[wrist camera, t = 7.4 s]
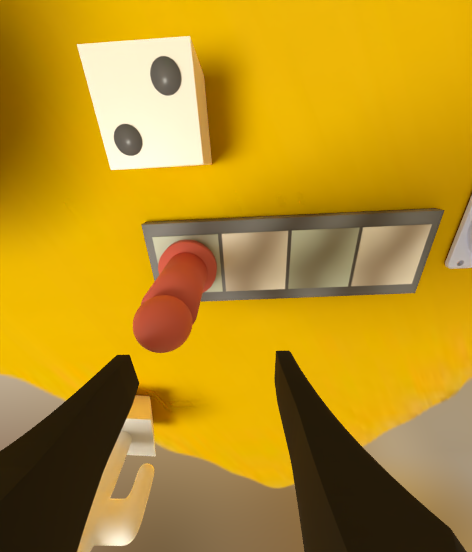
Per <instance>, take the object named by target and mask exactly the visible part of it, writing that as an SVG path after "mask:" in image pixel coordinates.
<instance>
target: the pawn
mask: <svg viewBox="0 0 472 552" xmlns="http://www.w3.org/2000/svg"><path fill="white" fill-rule="evenodd" d="M158 271H159V276H158V278H157V279H156V281H155V282H154V283H153V285H152V286H151V288H150V289H149V291H148V292H147V293H146V295H145V296H144V298H143V300H142V303H141V306H140V307H139V309H138V310H137V312H136V314H135V317H134V320H133V331H134V335H135V337H136V339H137V341H138V342H139V343H140V344H141V346H143V347H144V348H145V349H147V350H149V351H152V352H157V353H165V352H169V351H172V350H175V349H176V348H178V347H180V346H181V345H182V344H183V343H184V342H185V341H186V340H187V338H188V336H189V334H190V332H191V329H192V325H193V323H194V322H195V320H196V317H197V313H198V309H199V305H200V301H201V297H202V293H204V292H205V291H207V290H208V289H209V288H210V287H211V286H212V284H213V283H214V281H215V277H216V272H217V262H216V259H215V256H214V255H213V253H212V252H211V250H210V249H209V248H208V247H207V246H205V245H204V244H202V243H200V242H198V241H194V240H180V241H177V242H174V243H173V244H171V245H170V246H169V247H168V248H167V249H166V250H165V251H164V253H163V254H162V255H161V257H160V260H159V263H158Z"/></svg>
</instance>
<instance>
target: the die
mask: <svg viewBox="0 0 472 552" xmlns="http://www.w3.org/2000/svg"><path fill="white" fill-rule="evenodd" d="M77 47H78V50H79V54H80V58H81V61H82V65H83V69H84V72H85V76H86V80H87V83H88V87H89V91H90V95H91V98H92V102H93V106H94V109H95V113H96V117H97V120H98V124H99V128H100V131H101V135H102V139H103V142H104V146H105V150H106V153H107V157H108V161H109V165H110V168H111V170H121V169H145V168H161V167H178V166H195V165H211V164H212V158H211V146H210V135H209V124H208V113H207V102H206V91H205V80H204V74H203V71H202V69H201V66H200V63H199V60H198V57H197V55H196V52H195V49H194V46H193V43H192V41H191V38H190V36H185V37H171V38H157V39H144V40H130V41H116V42H103V43H89V44H77Z"/></svg>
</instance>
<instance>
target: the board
mask: <svg viewBox="0 0 472 552" xmlns="http://www.w3.org/2000/svg"><path fill="white" fill-rule="evenodd" d="M443 213H444V210H440V209H436V208H431V209H410V210H389V211H368V212H347V213H326V214H305V215H284V216H263V217H242V218H221V219H200V220H179V221H158V222H145V223H144V224H142V229H143V233H144V237H145V242H146V246H147V250H148V254H149V259H150V263H151V267H152V272H153V276H154V280H155V281H156V279H157V278H158V276H159V271H158V263H159V260H160V257H161V255H162V254H163V253H164V251H165V250H166V249H167V248H168V247H169V246H170V245H171V244H173V243H174V242H177V241H180V240H194V241H198V242H200V243H202V244H204V245H205V246H207V247H208V248H209V249H210V250H211V252H212V253H213V255H214V256H215V259H216V262H217V272H216V277H215V281H214V283H213V284H212V286H211V287H210V288H209V289H208V290H207V291H205V292H204V293H202V297H201V301H223V300H249V299H274V298H299V297H324V296H349V295H375V294H400V293H415V291H416V289H417V286H418V283H419V280H420V277H421V274H422V272H423V269H424V266H425V263H426V260H427V258H428V255H429V252H430V249H431V246H432V244H433V241H434V238H435V235H436V232H437V229H438V227H439V224H440V221H441V218H442V215H443Z"/></svg>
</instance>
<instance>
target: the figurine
mask: <svg viewBox="0 0 472 552" xmlns="http://www.w3.org/2000/svg"><path fill="white" fill-rule="evenodd" d="M127 455H141V456H156V454H155V441H154V428H153V416H152V408H151V400H150V396H140V395H135V399H134V402H133V405H132V407H131V409H130V412H129V414H128V416H127V419H126V421H125V423H124V425H123V428H122V430H121V432H120V434H119V437H118V439H117V441H116V443H115V446H114V448H113V450H112V452H111V455H110V457H109V459H108V462H107V464H106V466H105V469H104V472H103V474H102V477H101V480H100V483H99V486H98V489H97V491H96V494H95V497H94V500H93V503H92V506H91V509H90V512H89V515H88V518H87V521H86V524H85V527H84V531H83V534H82V537H81V540H80V544H79V547H78V550H77V552H91V550H92V548H93V546H94V545H108V546H109V545H110V546H123V545H127V544H129V543H130V542H131V541H132V540H133V539H134V538H135V536H136V534H137V532H138V530H139V527H140V525H141V522H142V518H143V515H144V511H145V508H146V504H147V500H148V496H149V493H150V489H151V485H152V481H153V477H154V467H153V466H152V465H151V464H149V463H145V464H143V465H141V467H140V468H139V470H138V473H137V476H136V479H135V482H134V485H133V487H132V490H131V492H130V494H129V495H128V497H127V498H125V499H113V498H112V499H111V495H112V492H113V490H114V487H115V485H116V482H117V479H118V477H119V474H120V471H121V469H122V466H123V463H124V461H125V458H126V456H127Z"/></svg>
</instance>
